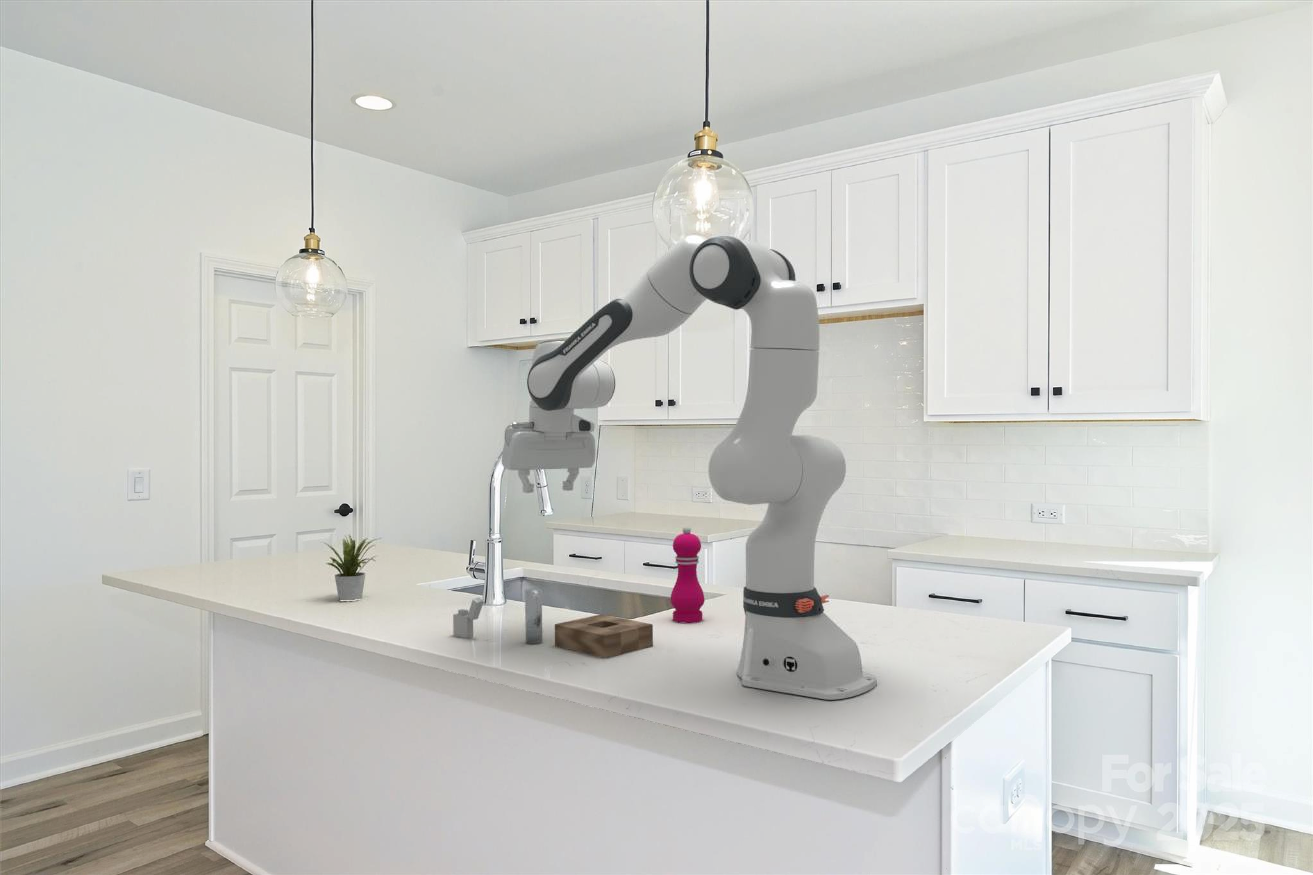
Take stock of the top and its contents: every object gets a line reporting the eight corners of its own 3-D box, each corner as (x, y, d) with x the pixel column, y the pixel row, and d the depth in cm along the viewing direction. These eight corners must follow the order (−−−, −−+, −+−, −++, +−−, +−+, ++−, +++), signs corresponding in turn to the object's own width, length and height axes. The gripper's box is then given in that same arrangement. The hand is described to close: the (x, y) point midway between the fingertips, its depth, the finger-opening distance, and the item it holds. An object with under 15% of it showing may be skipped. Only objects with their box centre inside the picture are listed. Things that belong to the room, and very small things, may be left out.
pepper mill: (705, 616, 185) (704, 524, 185) (704, 624, 178) (703, 527, 178) (672, 616, 186) (671, 524, 186) (669, 623, 179) (668, 527, 179)
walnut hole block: (652, 645, 160) (652, 624, 160) (605, 658, 151) (605, 635, 151) (602, 634, 170) (601, 614, 170) (554, 645, 161) (554, 624, 161)
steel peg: (545, 642, 164) (545, 589, 164) (532, 645, 162) (532, 592, 162) (535, 639, 166) (534, 587, 166) (522, 642, 164) (521, 590, 164)
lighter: (452, 635, 170) (452, 595, 170) (459, 634, 171) (459, 594, 171) (477, 640, 166) (477, 599, 166) (484, 638, 167) (484, 597, 167)
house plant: (398, 598, 211) (397, 531, 211) (351, 607, 199) (350, 537, 199) (359, 592, 218) (359, 528, 218) (312, 602, 207) (311, 534, 207)
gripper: (514, 423, 161) (511, 496, 162) (601, 423, 175) (598, 491, 176) (497, 420, 166) (494, 491, 167) (583, 421, 179) (580, 487, 180)
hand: (548, 491), depth 171 cm, fingers open, 8 cm apart
